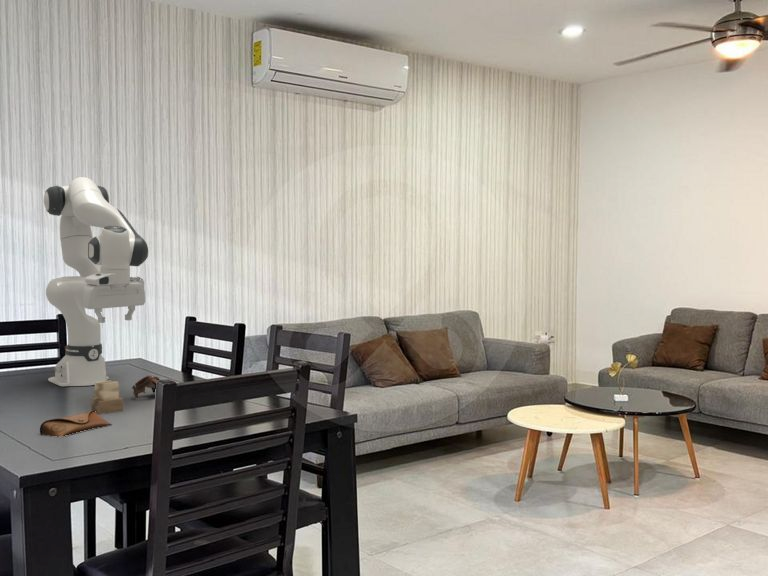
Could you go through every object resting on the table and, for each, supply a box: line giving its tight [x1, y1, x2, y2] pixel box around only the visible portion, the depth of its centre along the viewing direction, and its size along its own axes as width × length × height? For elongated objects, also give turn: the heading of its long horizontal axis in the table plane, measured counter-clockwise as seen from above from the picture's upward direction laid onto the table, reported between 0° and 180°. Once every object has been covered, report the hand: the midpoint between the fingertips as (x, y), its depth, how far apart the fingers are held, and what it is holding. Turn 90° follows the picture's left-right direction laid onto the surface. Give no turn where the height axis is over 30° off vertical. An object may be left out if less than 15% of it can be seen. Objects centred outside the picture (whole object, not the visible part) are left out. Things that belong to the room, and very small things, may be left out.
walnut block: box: [90, 396, 124, 415], centre depth 234 cm, size 7×7×4 cm
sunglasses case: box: [39, 410, 112, 438], centre depth 211 cm, size 18×7×7 cm, turn 150°
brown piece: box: [131, 375, 161, 398], centre depth 255 cm, size 12×10×8 cm
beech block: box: [94, 379, 120, 401], centre depth 234 cm, size 5×5×5 cm
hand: (115, 321), depth 241 cm, fingers open, 8 cm apart
